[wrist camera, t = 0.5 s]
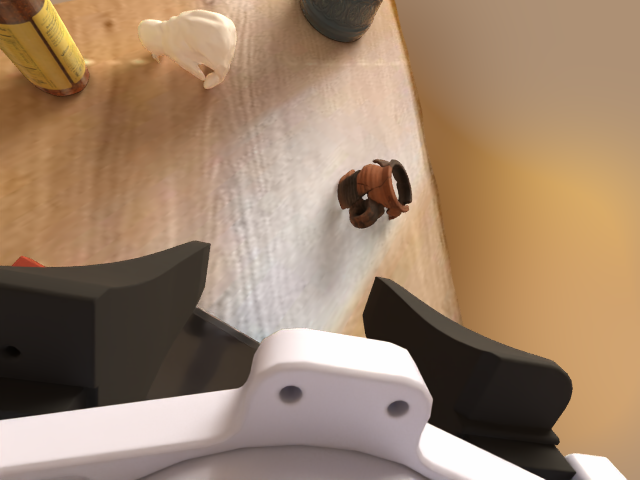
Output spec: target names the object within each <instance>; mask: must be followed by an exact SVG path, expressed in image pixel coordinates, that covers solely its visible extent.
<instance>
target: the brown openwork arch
mask: <svg viewBox="0 0 640 480" xmlns="http://www.w3.org/2000/svg"><path fill="white" fill-rule="evenodd" d="M373 162H374V163H378V164H379V165H380V166H381V167H380V166H377V165H372V164H369V165H366V166H364V167H363V168H362V170H358V171H356V172H355V171H354V170H351V171H349V172H348V173H347V174H346V175H344V176H343V177H342V178H341V179H340V181H339V184H338V200H339V203H340V206H341V208H342V209H346V208H350V209H349V214H350V222H351V223H352V224H353V225H354V226H355V227H357V228H361V229H363V228H367V227H370V226H371V225H373V224H374V223H375V222H376V221H377V219H378V218H380V217H381V216H382V215H383V214H384V212H385V210H384V207H386V208H388V209H387V211H386V213H387V214H389V220H391V219H394V218H396V217H398V216H399V215H400V214H401V212H403V213H404V212H407V211H408V210H409V206H408V205H406V206H405V204H409V203H411V202H412V191H411V185H410V182H409V178H408V175H407V173H406V171H405V169H404V167H403V166H402V164H401V163H400V162H399V161H397V160H391V161H390V162H388V161H385V160H379V159H375V160H373ZM354 172H355V173H354ZM392 173H393V176H394V178H395V180H396V181H397V184H396V185H397V189H398V194H399V199H398V200H397V197H396V195H395V192H394V189H393V185H392V179H391V177H392ZM365 194H367V197H368V199H366V200H363V199H362V197H363V196H364V195H365Z"/></svg>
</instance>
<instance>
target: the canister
mask: <svg viewBox="0 0 640 480" xmlns="http://www.w3.org/2000/svg"><path fill="white" fill-rule="evenodd" d="M382 1H383V0H300V3H301V8H302V11H303V13H304V15H305V17H306V18H307V20H308V21H309V22H310V24H311V25H312V26H313V27H314V28H315V29H316V30H318V31H319V32H320V33H322V34H323V35H325V36H327V37H329V38H331V39H333V40H337V41H342V42H351V41H355V40H357V39H359V38H361V37H362V36H363V35H364V33H365V32H366V31H367V30H368V29H369V27H370V25H371V24H372V22H373V20H374V16H375V14H376V12H377V10H378V8H379V7H380V5H381V3H382Z"/></svg>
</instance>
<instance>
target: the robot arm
mask: <svg viewBox="0 0 640 480" xmlns="http://www.w3.org/2000/svg"><path fill="white" fill-rule="evenodd" d="M210 245H211V244H210V243H205V242H200V241H191V242H188V243H185V244H182V245H179V246H176V247H173V248H170V249H167V250H164V251H161V252H157V253H154V254H150V255H147V256H143V257H140V258H135V259H131V260H125V261H120V262H114V263H106V264H97V265H88V266H73V267H19V266H0V480H627V479H626V478H625V477H624V476H623V475H622V474H621V473H620V472H619V471H618V470H617V469H616V468H615V466H614V465H613V464H612V463H611V462H610V461H609V460H608V459H607V458H606V457H601V456H593V455H584V454H577V453H576V454H569V455H567V456H565V457H564V456H563V455H562V454H561V453H560V451H559V450H558V449H557V448H556V446H555V445H558V444H559V442H560V441H559V438H558V437H557V436H556V434H555V433H554V432H553V431H552V430H551V429H552V427H553V426H554V424H555V423H556V421H557V420H558V418H559V417H560V416H561V414H562V413H563V411H564V410H565V408H566V407H567V405H568V403H569V401H570V399H571V395H572V389H573V388H572V381H571V379H570V377H569V376H568V374H567V373H566V372H565V371H564V370H563V369H562V368H561V367H560V366H558V365H557V364H556V363H555V362H554V361H552V360H549V359H546V358H543V357H540V356H537V355H533V354H530V353H527V352H524V351H521V350H518V349H515V348H512V347H509V346H506V345H504V344H501V343H499V342H496V341H494V340H491V339H489V338H487V337H484V336H482V335H480V334H478V333H476V332H473V331H471V330H469V329H467V328H465V327H463V326H461V325H459V324H458V323H456V322H454V321H452V320H450V319H449V318H447V317H445V316H444V315H442V314H440V313H439V312H437V311H436V310H434V309H433V308H431V307H430V306H428V305H427V304H425V303H424V302H422V301H421V300H419V299H418V298H417V297H415V296H414V295H413V294H411V293H410V292H408V291H407V290H406V289H404V288H403V287H401V286H400V285H398V284H397V283H395V282H394V281H392V280H390V279H386V278H381V277H375V280H374V283H373V286H372V289H371V292H370V295H369V298H368V301H367V303H366V306H365V309H364V312H363V322H364V329H365V334H366V338H361V337H355V336H349V335H343V334H337V333H331V332H325V331H319V330H313V329H307V328H294V329H281V330H279V331H277V332H276V333H274V334H272V335H270V336H268V337H266V338H265V339H263V341H262V342H261V344H260V346H259V347H258V349H257V351H256V352H255V354H254V357H253V362H252V366H251V371H250V375H249V377H248V380H247V382H246V383H245V384H244V385H243V386H242V387H240V388H237V389H230V390H222V391H215V392H208V393H200V394H193V395H185V396H178V397H170V398H163V399H155V400H148V401H145V399H146V397H147V394H148V392H149V390H150V388H151V386H152V384H153V381H154V379H155V377H156V375H157V373H158V371H159V369H160V367H161V365H162V363H163V360H164V358H165V356H166V355H167V353H168V351H169V349H170V347H171V346H172V344H173V343H174V341H175V339H176V338H177V336H178V335H179V333H180V332H181V330H182V328H183V327H184V325H185V324H186V322H187V320H188V319H189V317H190V316H191V314H192V312H193V311H194V309H195V308H196V306H197V304H198V302H199V299H200V297H201V295H202V292H203V290H204V288H205V282H206V274H207V267H208V260H209V252H210Z"/></svg>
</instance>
